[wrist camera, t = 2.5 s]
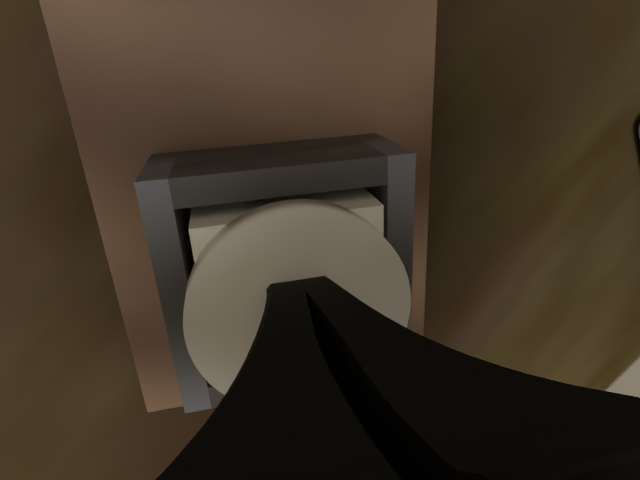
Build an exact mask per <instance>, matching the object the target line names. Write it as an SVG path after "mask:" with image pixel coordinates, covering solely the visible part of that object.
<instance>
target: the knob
mask: <svg viewBox="0 0 640 480" xmlns="http://www.w3.org/2000/svg"><path fill="white" fill-rule="evenodd" d="M188 230H189V235H190V241H191V247H192V252H193V258H194V263H195V264H194V266H193V268H192V271H191V274H190V276H189V279H188V283H187V289H186V294H185V302H184V310H183V331H184V339H185V343H186V346H187V350H188V353H189V355H190V357H191V359H192V361H193V363H194V365H195V366H196V368H197V369H198V371H199V372H200V374H201V375H202V376H203V377H204V378H205V379H206V380H207V381H208V382H209V384H211V385H212V386H213V387H214V388H216V389H217V391H219V392H221V393H222V394H224V395H225V394H226V393H227V391H228V389H229V388H230V386H231V384H232V383H233V381H234V379H235V378H236V376H237V374H238V372H239V371H240V369H241V367H242V365H243V363H244V361H245V359H246V357H247V355H248V352H249V350H250V348H251V346H252V343H253V341H254V339H255V336H256V334H257V331H258V328H259V325H260V322H261V319H262V316H263V313H264V308H265V304H266V298H267V292H266V289H267V288H268V287H269V285H270V284H273V283H280V282H287V281H294V280H300V279H307V278H313V277H320V276H326V277H328V278H329V279H331V280H332V281H333V282H335V283H336V284H338V285H339V286H340V287H342V288H343V289H345V290H346V291H348V292H349V293H350V294H352V295H353V296H355V297H356V298H358V299H359V300H361V301H362V302H364V303H365V304H367V305H368V306H370V307H371V308H373V309H375V310H376V311H378V312H379V313H381V314H383V315H384V316H386V317H388V318H390V319H391V320H393V321H395V322H397V323H399V324H400V325H402V326H404V327H406V328H407V324H408V320H409V316H410V308H411V289H410V284H409V279H408V275H407V273H406V270H405V267H404V265H403V263H402V261H401V259H400V257H399V255H398V254H397V252H396V251H395V250H394V248H393V247H392V246H391V244H390V243H389V242H388V241H387V240H386V239H385V238H384V205H383V204H382V203H381V202H379V201H378V200H377V199H376V198H375V197H374V196H373V195H372V194H371V193H370V192H368V191H367V190H366V189H365V188H356V189H347V190H338V191H330V192H321V193H312V194H304V195H295V196H286V197H278V198H269V199H260V200H252V201H243V202H234V203H225V204H217V205H208V206H199V207H192V209H191V215H190V222H189V228H188Z"/></svg>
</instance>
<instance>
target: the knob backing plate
mask: <svg viewBox="0 0 640 480" xmlns="http://www.w3.org/2000/svg"><path fill="white" fill-rule="evenodd" d="M39 2H40V5H41V9H42V13H43V17H44V21H45V24H46V28H47V32H48V36H49V40H50V43H51V47H52V51H53V55H54V59H55V62H56V66H57V70H58V74H59V78H60V81H61V85H62V89H63V93H64V97H65V100H66V104H67V108H68V112H69V116H70V119H71V123H72V127H73V131H74V135H75V138H76V142H77V146H78V150H79V154H80V157H81V161H82V165H83V169H84V173H85V176H86V180H87V184H88V188H89V192H90V195H91V199H92V203H93V207H94V211H95V214H96V218H97V222H98V226H99V230H100V233H101V237H102V241H103V245H104V249H105V252H106V256H107V260H108V264H109V268H110V271H111V275H112V279H113V283H114V287H115V290H116V294H117V298H118V302H119V306H120V309H121V313H122V317H123V321H124V325H125V328H126V332H127V336H128V340H129V344H130V347H131V351H132V355H133V359H134V363H135V366H136V370H137V374H138V378H139V382H140V385H141V389H142V393H143V397H144V401H145V404H146V408H147V412H153V411H158V410H164V409H169V408H174V407H180V406H183V407H184V411H185V413H190V412H195V411H200V410H205V409H211V408H216V407H217V406H218V404H219V403H220V401H221V400H222V398H223V397H224V396H225V395H224V394H222V393H221V392H219V391H217V389H216V388H214V387H213V386H212V385H211V384H209V382H208V381H207V380H206V379H205V378H204V377H203V376H202V375H201V374H200V372H199V371H198V369H197V368H196V366H195V365H194V363H193V361H192V359H191V357H190V355H189V353H188V350H187V346H186V343H185V339H184V331H183V310H184V302H185V294H186V289H187V283H188V279H189V276H190V274H191V271H192V268H193V266H194V264H195V263H194V258H193V252H192V247H191V241H190V235H189V230H188V228H189V222H190V215H191V209H192V207H199V206H208V205H217V204H225V203H234V202H243V201H252V200H260V199H269V198H278V197H286V196H295V195H304V194H312V193H321V192H330V191H338V190H347V189H356V188H365V189H366V190H367V191H368V192H370V193H371V194H372V195H373V196H374V197H375V198H376V199H377V200H378V201H379V202H381V203H382V204H383V205H384V238H385V239H386V240H387V241H388V242H389V243H390V244H391V246H392V247H393V248H394V250H395V251H396V252H397V254H398V255H399V257H400V259H401V261H402V263H403V265H404V267H405V270H406V273H407V275H408V279H409V284H410V289H411V308H410V316H409V320H408V324H407V328H408V329H410V330H412V331H414V332H416V333H418V334H420V335H422V336H423V335H424V311H425V287H426V263H427V239H428V214H429V190H430V166H431V142H432V118H433V94H434V70H435V46H436V22H437V0H39Z"/></svg>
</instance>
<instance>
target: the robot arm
mask: <svg viewBox="0 0 640 480" xmlns="http://www.w3.org/2000/svg"><path fill="white" fill-rule="evenodd" d="M639 138H640V125H639ZM266 292H267V298H266V304H265V308H264V313H263V316H262V319H261V322H260V325H259V328H258V331H257V334H256V336H255V339H254V341H253V343H252V346H251V348H250V350H249V352H248V355H247V357H246V359H245V361H244V363H243V365H242V367H241V369H240V371H239V372H238V374H237V376H236V378H235V379H234V381H233V383H232V384H231V386H230V388H229V389H228V391H227V393H226V394H225V396H224V397H223V398H222V400H221V401H220V403H219V404H218V406H217V407H216V409H215V410H214V412H213V413H212V415H211V416H210V417H209V419H208V420H207V421H206V423H205V424H204V425H203V426H202V428H201V429H200V430H199V431H198V433H197V434H196V435H195V436H194V437H193V438H192V440H191V441H190V442H189V443H188V444H187V445H186V447H185V448H184V449H183V450H182V451H181V452H180V454H179V455H178V456H177V457H176V458H175V459H174V461H173V462H172V463H171V464H170V465H169V466H168V467H167V468H166V469H165V471H164V472H163V473H162V474H161V475H160V476H159V477H158V478H157V479H156V480H640V398H639V397H634V396H628V395H623V394H618V393H612V392H607V391H601V390H596V389H590V388H585V387H580V386H574V385H570V384H565V383H561V382H557V381H553V380H549V379H545V378H541V377H537V376H533V375H529V374H526V373H522V372H519V371H515V370H512V369H509V368H505V367H502V366H499V365H496V364H493V363H490V362H487V361H484V360H481V359H478V358H475V357H472V356H469V355H467V354H464V353H461V352H459V351H456V350H454V349H451V348H449V347H446V346H444V345H442V344H440V343H437V342H435V341H433V340H431V339H428V338H426V337H424V336H422V335H420V334H418V333H416V332H414V331H412V330H410V329H408V328H406V327H404V326H402V325H400V324H399V323H397V322H395V321H393V320H391V319H390V318H388V317H386V316H384V315H383V314H381V313H379V312H378V311H376V310H375V309H373V308H371V307H370V306H368V305H367V304H365V303H364V302H362V301H361V300H359V299H358V298H356V297H355V296H353V295H352V294H350V293H349V292H348V291H346V290H345V289H343V288H342V287H340V286H339V285H338V284H336V283H335V282H333V281H332V280H331V279H329V278H328V277H326V276H320V277H313V278H307V279H300V280H294V281H287V282H280V283H273V284H270V285H269V287H268V288H267V289H266Z"/></svg>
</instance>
